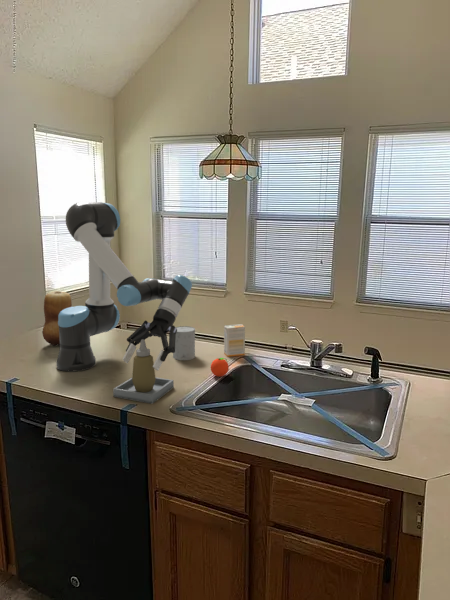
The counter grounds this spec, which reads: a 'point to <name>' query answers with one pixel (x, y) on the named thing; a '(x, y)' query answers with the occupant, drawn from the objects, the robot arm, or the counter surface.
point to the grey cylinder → (184, 343)
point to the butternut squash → (54, 314)
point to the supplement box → (234, 340)
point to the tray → (129, 392)
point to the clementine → (219, 367)
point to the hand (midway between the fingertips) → (139, 365)
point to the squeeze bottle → (143, 369)
